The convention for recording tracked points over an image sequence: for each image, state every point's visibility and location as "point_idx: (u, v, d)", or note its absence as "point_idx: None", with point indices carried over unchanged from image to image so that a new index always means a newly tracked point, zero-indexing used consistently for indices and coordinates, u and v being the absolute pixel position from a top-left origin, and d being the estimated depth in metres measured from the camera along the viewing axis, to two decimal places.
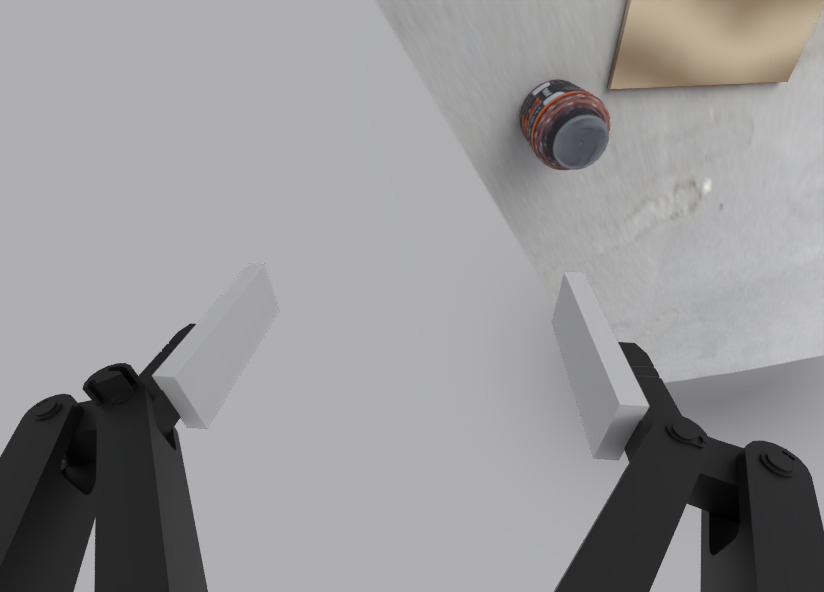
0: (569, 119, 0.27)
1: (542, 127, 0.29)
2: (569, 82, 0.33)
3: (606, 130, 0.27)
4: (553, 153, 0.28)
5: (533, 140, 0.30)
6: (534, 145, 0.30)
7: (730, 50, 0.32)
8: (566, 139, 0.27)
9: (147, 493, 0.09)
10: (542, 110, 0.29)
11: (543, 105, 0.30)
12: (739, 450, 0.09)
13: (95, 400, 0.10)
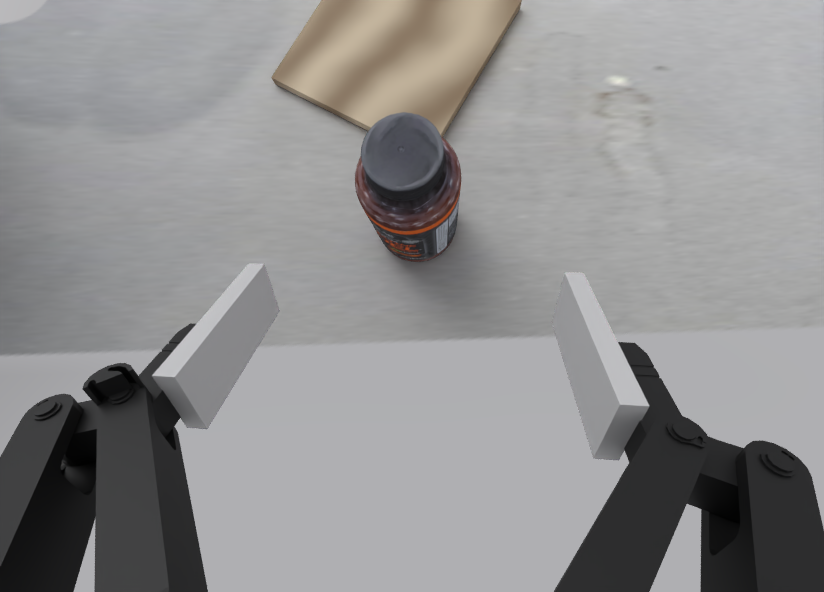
0: (361, 155, 0.18)
1: (371, 206, 0.19)
2: None
3: (403, 113, 0.17)
4: (395, 190, 0.17)
5: (387, 226, 0.20)
6: (393, 226, 0.20)
7: (458, 46, 0.29)
8: (384, 165, 0.17)
9: (148, 492, 0.09)
10: None
11: None
12: (739, 450, 0.09)
13: (95, 400, 0.10)
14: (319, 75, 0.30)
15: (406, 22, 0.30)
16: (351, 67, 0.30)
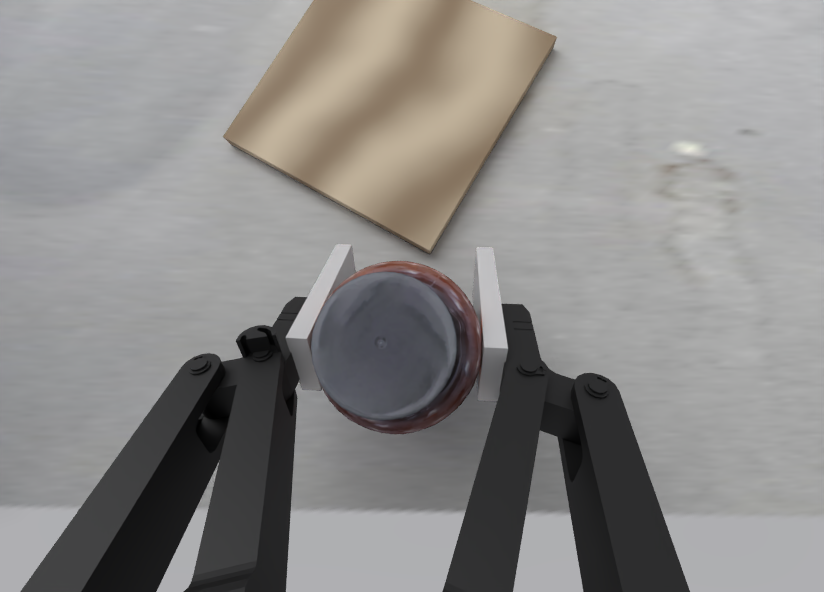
0: (311, 347, 0.10)
1: None
2: None
3: (386, 275, 0.10)
4: (370, 418, 0.10)
5: (363, 425, 0.12)
6: (372, 429, 0.12)
7: (470, 98, 0.22)
8: (350, 372, 0.10)
9: (261, 456, 0.09)
10: None
11: None
12: (571, 386, 0.11)
13: (242, 352, 0.12)
14: (285, 135, 0.23)
15: (402, 65, 0.23)
16: (328, 125, 0.22)
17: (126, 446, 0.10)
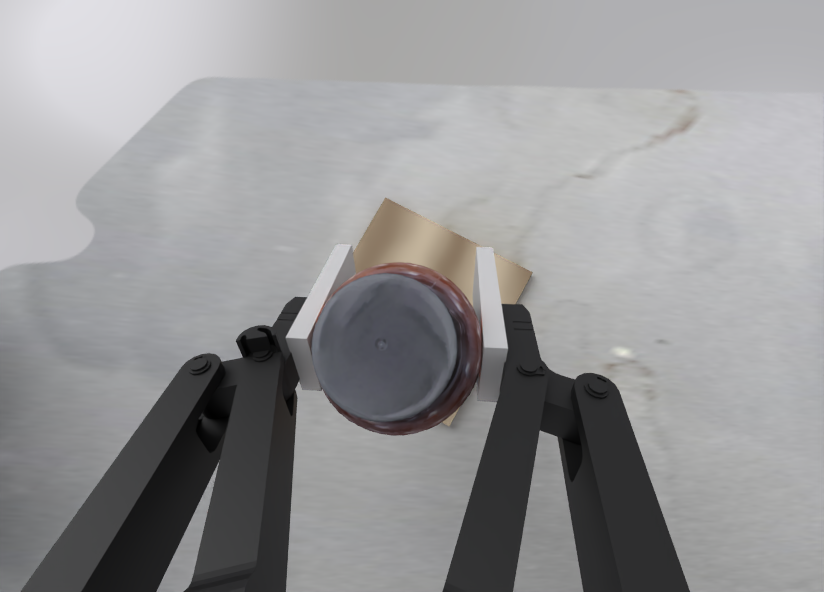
0: None
1: None
2: None
3: (386, 277, 0.10)
4: (370, 419, 0.10)
5: None
6: (373, 431, 0.12)
7: None
8: (351, 374, 0.10)
9: (261, 457, 0.09)
10: None
11: None
12: (571, 386, 0.11)
13: (242, 352, 0.12)
14: None
15: None
16: None
17: (126, 446, 0.10)
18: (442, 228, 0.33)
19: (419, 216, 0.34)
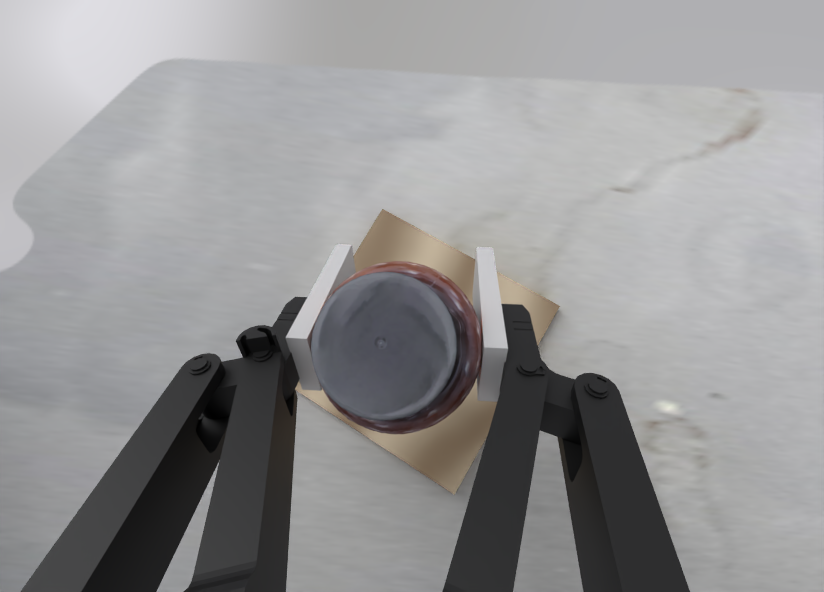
0: (311, 347, 0.10)
1: None
2: None
3: (386, 275, 0.10)
4: (370, 418, 0.10)
5: None
6: None
7: None
8: (350, 372, 0.10)
9: (261, 457, 0.09)
10: None
11: None
12: (571, 386, 0.11)
13: (242, 353, 0.12)
14: None
15: None
16: None
17: (126, 446, 0.10)
18: (450, 248, 0.28)
19: (423, 233, 0.28)
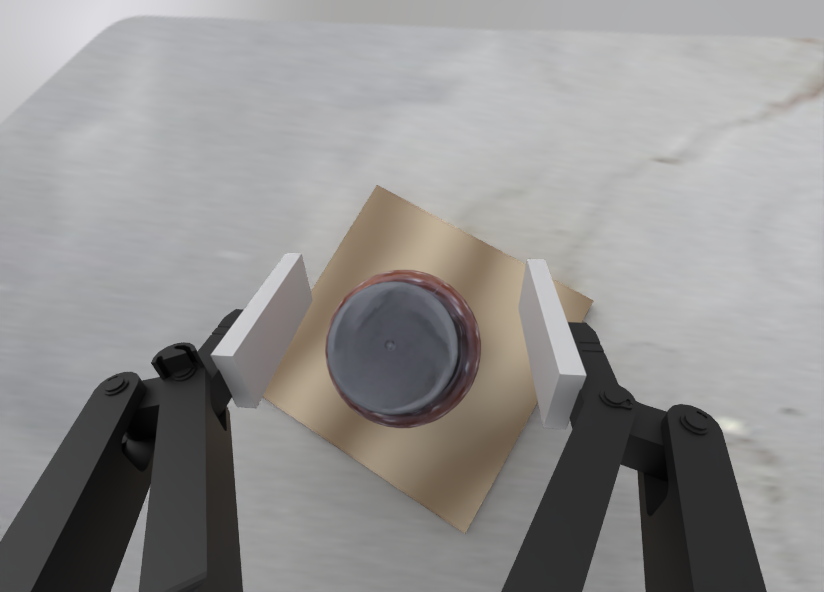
0: (327, 349, 0.11)
1: (348, 397, 0.13)
2: None
3: (394, 285, 0.11)
4: (380, 412, 0.11)
5: (372, 420, 0.13)
6: (381, 424, 0.13)
7: (505, 364, 0.21)
8: (362, 372, 0.11)
9: (197, 473, 0.09)
10: None
11: None
12: (663, 415, 0.10)
13: (161, 375, 0.11)
14: (315, 392, 0.22)
15: None
16: None
17: (41, 478, 0.09)
18: (459, 231, 0.23)
19: (426, 213, 0.23)
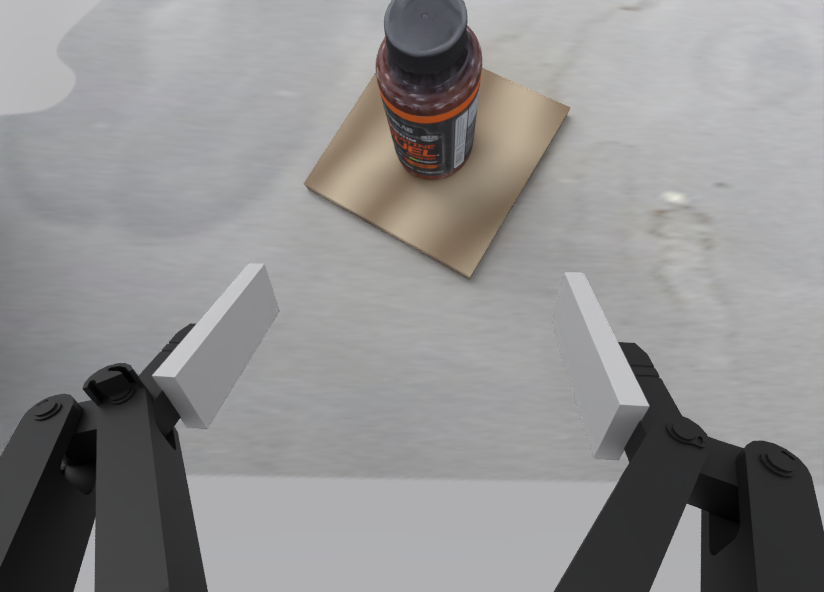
0: (384, 23, 0.18)
1: (392, 88, 0.19)
2: None
3: None
4: (418, 56, 0.17)
5: (407, 110, 0.20)
6: (414, 110, 0.20)
7: (502, 156, 0.28)
8: (407, 31, 0.17)
9: (148, 493, 0.09)
10: (380, 92, 0.21)
11: (381, 97, 0.21)
12: (739, 450, 0.09)
13: (95, 400, 0.10)
14: (354, 183, 0.29)
15: None
16: (388, 175, 0.28)
17: None
18: None
19: None
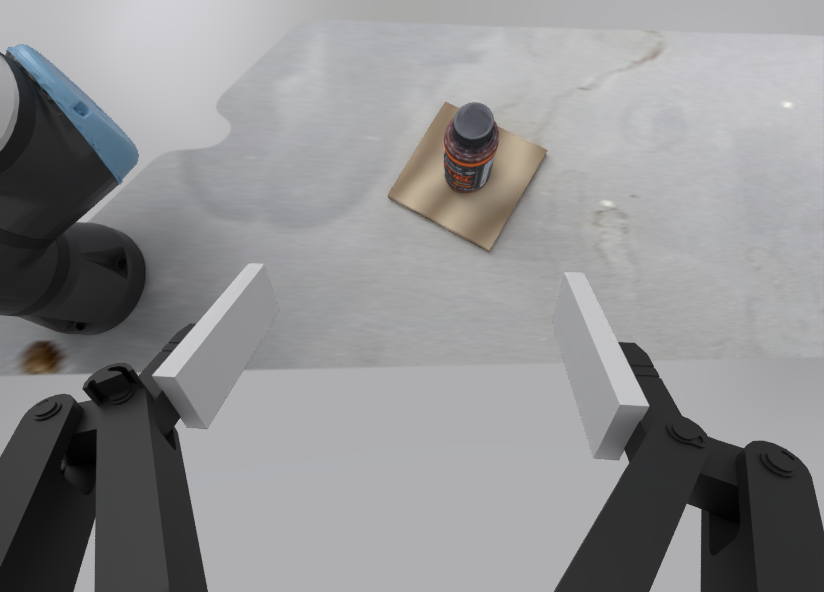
0: (453, 122, 0.37)
1: (454, 150, 0.38)
2: None
3: (474, 103, 0.37)
4: (471, 139, 0.36)
5: (461, 161, 0.39)
6: (465, 161, 0.39)
7: (507, 179, 0.47)
8: (465, 127, 0.36)
9: (147, 493, 0.09)
10: (446, 150, 0.40)
11: (445, 152, 0.40)
12: (739, 450, 0.09)
13: (95, 400, 0.10)
14: (418, 195, 0.48)
15: None
16: (439, 190, 0.47)
17: None
18: None
19: None
